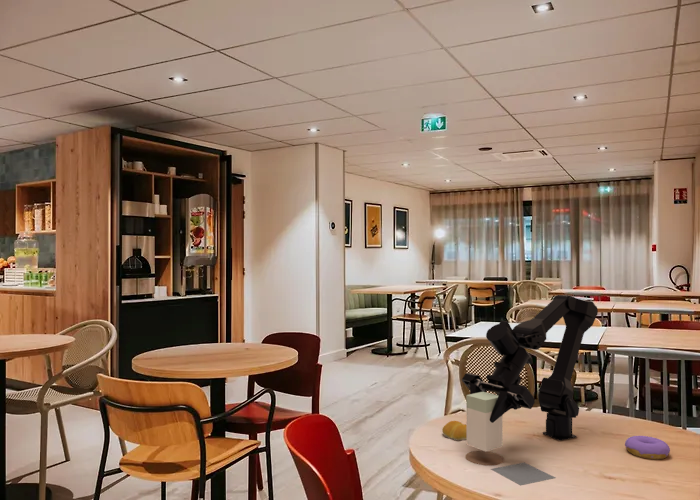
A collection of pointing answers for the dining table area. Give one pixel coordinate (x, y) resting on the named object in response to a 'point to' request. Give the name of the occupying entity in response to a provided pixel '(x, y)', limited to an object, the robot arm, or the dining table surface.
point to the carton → (483, 422)
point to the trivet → (484, 458)
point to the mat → (522, 473)
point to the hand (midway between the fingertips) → (480, 418)
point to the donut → (647, 447)
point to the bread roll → (455, 430)
